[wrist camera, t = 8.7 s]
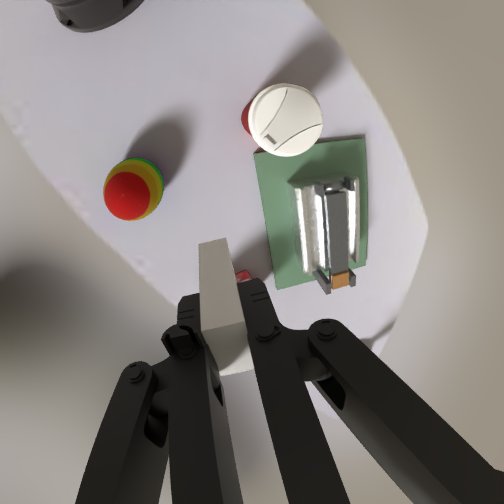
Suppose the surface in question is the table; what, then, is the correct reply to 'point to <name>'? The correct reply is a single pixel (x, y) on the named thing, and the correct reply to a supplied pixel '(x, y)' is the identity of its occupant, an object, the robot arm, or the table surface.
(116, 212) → the decorative egg
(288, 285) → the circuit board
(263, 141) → the paper cup
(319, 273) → the lug posts
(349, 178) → the block
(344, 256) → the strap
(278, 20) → the table surface
